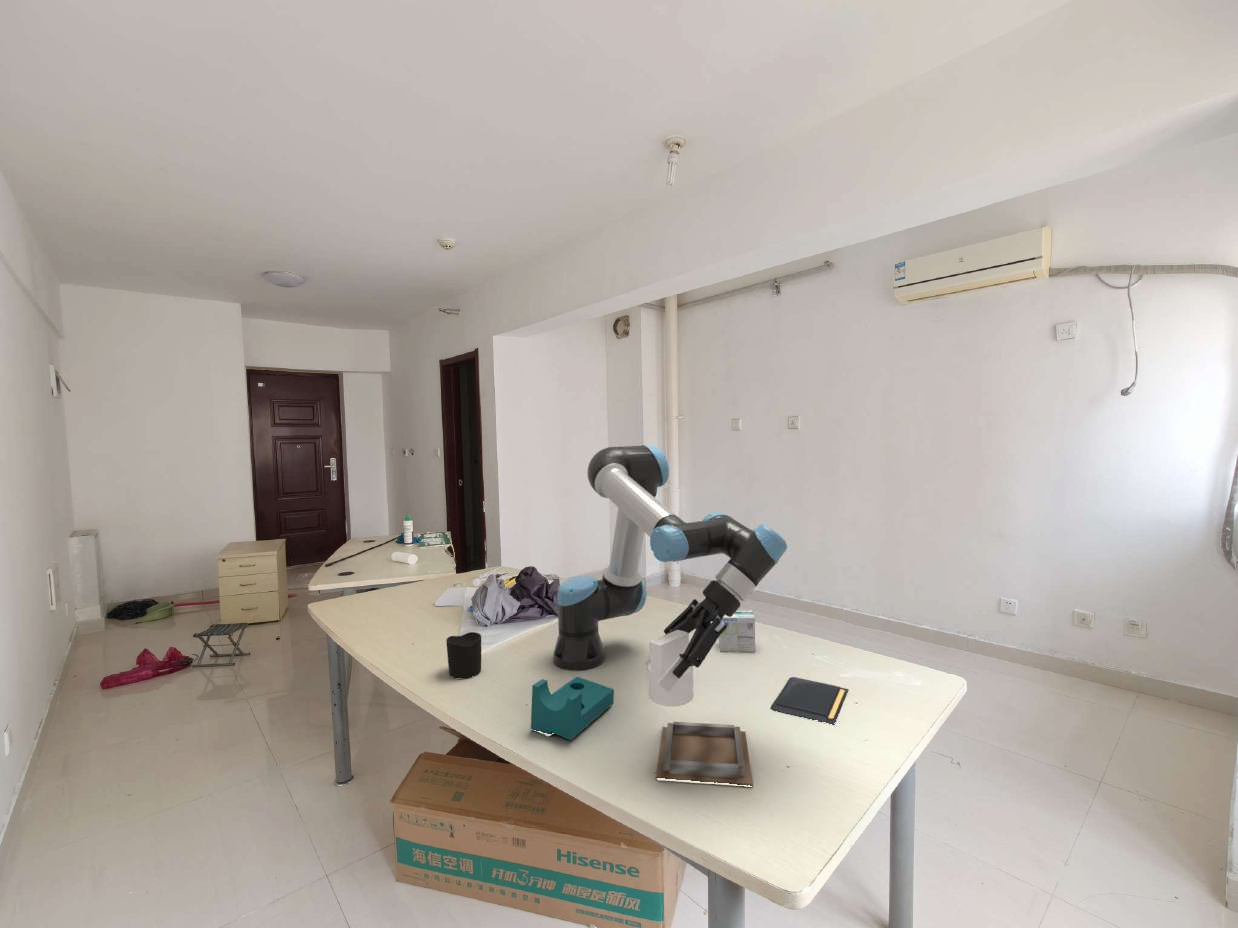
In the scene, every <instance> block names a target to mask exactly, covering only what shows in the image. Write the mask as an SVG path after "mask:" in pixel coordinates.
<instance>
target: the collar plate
mask: <svg viewBox="0 0 1238 928" xmlns="http://www.w3.org/2000/svg"><path fill="white" fill-rule="evenodd" d="M658 751H659V752H658V758H657V765H656V773H655V779H656V778H665V779H676V780H691V781H700V782H714V783H716V782H717V783H729V784H737V785H747V786H748V785H750V786H753V787H754V782H753V776H752V775H753V774H752V768H751V761H750V754H749V746H748V740H747V733H746V731H741V726H735V725H734V724H724V723H723V724H720V723H719V724H717V723H703V722H702V723H701V722H688V721H687V722H686V721H685V722H684V721H673V722H667V725H666V726H662V729H661V736H660V744H659V750H658Z"/></svg>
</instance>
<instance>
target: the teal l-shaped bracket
mask: <svg viewBox="0 0 1238 928" xmlns="http://www.w3.org/2000/svg"><path fill="white" fill-rule="evenodd" d="M548 682H549V681H548V680H547V679H544V678H541V679H540V680H538V681H537V682H535V683H534V684H533V685H532V690H531V691H532V692H531V711H530V712H531V714H530V730H531V729H533V730H536V731H541V732H543V733H547V734H552V733H555V734H556V735H558V736H560V737H563V738H564V739H567V740H570V741H571V740H573V739H574V738H575V737H576V736H577V735H579V733H581V732H582V731H583V730H585V728H586V727H588V726H589V725H591V723H592V722H593V721H595V720H596V719H597V718H599V717H600V716H601V715H602V714H603V713H604V712H606V710H608V709H609V708H610V707H611V706H612V705H613V704H614V697H615V696H614V695H615V689H614V688H611V687H610V686H609V687H608V686H605V685H603V684H600V683H596V682H593V681H591V680H588V679H585V678H583V677H579V676H575V677H574V678H573V679H572V680H570V681H568V682H567V683H566V684H564V685H563V686H561V687H560V688H558V689H557V690H556V691H554V692H553V693H551V691H550V688H549V685H548V684H549V683H548ZM533 730H532V731H533ZM555 734H554V735H555Z"/></svg>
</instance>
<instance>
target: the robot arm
mask: <svg viewBox="0 0 1238 928" xmlns="http://www.w3.org/2000/svg"><path fill="white" fill-rule="evenodd" d="M586 472H587V474H586V475H587V480H588V482H589V484H590V487H591V489H593V491H594V492H595V493H596V494H598V495H599V496H600V497H602V498H605V499H609V501H611V502H612V503H613V504H615V506H616V507H617V513H616V519H615V521H616V522H615V526H614V527H615V528H614V533H613V540H612V546H611V553H610V559H609V565H608V566H607V567H605V568H604V570H603V571H602V572H603V573H602V577H601V579H599V580H597V578H595V576H590V575H589V576H588V575H586V576H576V577H571V578H569V579H567V580H565V581H563V582H562V583H560V585H559V586H558V588H557V599H556V603H557V617H558V618H557V619H558V620H557V621H558V622H557V623H558V636H557V640H556V642H555V646H554V650H553V657H552V658H553V664H555V665H556V666H557V667H559V668H560V669H561V668H562V669H565V670H573V671H574V670H575V671H579V670H580V671H581V670H582V671H583V670H587V669H591V668H592V669H593V668H595V667H596V668H597V667H598V666H600V665H601V664H603V663H604V662H605V660H606V650H605V647H604V643H603V641H602V638H601V636H600V633H599V632H600V631H599V622H600V621H606V620H610V619H614V618H615V619H616V618H620V617H624V616H625V617H628V616H631V615H633V614H636V613H639V612H640V611H641V610H642V609H643V608H644V606H645V603H646V600H647V593H648V592H647V590H646V588H647V586H646V583H645V580H644V578H643V577H642V574H641V573H640V572H639V565H640V559H641V554H642V549H643V548H642V547H643V542H644V536H645V534H646V535H647V536H648V537H649V538H650V539H649V546H650V550H651V551H652V552H653V556H654V558H655V559H656V560H658V561H659V562H662V563H668V562H670V563H671V562H673V563H678V562H680V561H685V560H690V559H691V560H692V559H696V558H701V557H707V556H708V557H709V556H715V555H719V554H724V555H725V556H726V557H728V558H729V560H728V561H726V563H725V564H724V565H723V566H722V568H721V569H720V570H719V571H718V573H716V575H715V579H713V580H711V581H710V582H709V583H708V584H707V585H706V587H705V588H704V589H703V591H702V595H703V596H704V599H703V600H702V601H701V602H699V601H698V600H697V599H696V598H694V599H692V601H691V602H690V603H689V605H688V606H687V607H686V608H685V609H684V610H683V611H682V612H681V613H679V615H678V616H677V617H675V619H673V621H671V622H670V624H668V625H666V626H667V627H666V626H665V628H664V630H663V633H664V635H666V634H669V633H671V632H674V631H676V630H681V631H685V632H687V633H689V634H690V633H692V632H693V631H694V632H693V634H692V637H691V638H690V639H689V644H688V646H687V648H686V650H685V652H684V654H679V657H678V658H677V659H676V660H675V661H674V663H673V664H672V665H671V666H670V667H669V669H668V670H667V671H666V672H665V673H664V674H663V676H662V677H661V678H660V679H659V680H658V682H657V683H658V684H659V685H660V686H661V687H662V688H664V689H665V690H666V691H667V692H669V690H670V689H671V688H672V687H673V686H674V685H675V683H676V682H677V681H678V680H679V679H680V677H681V676H682V675H683V674H684V673H685V672H686V670H687V669H688V668H689V667H690V666H691V667H692V666H693V667H695V668H699V667H700V666H701V665H702V663H703V662H704V661H705V659H706V658H707V655H708V654H709V652H710V651H711V650H712V648H713V646H714V645H715V644H716V642H717V641H718V640H719V636H720V635H721V634H722V633H723V632H724V630H725V629H726V628H727V625H726V624H725V623H724V622H722V618H723V617H724V615H727V616H728V617H731V616H732V615H733V614H734V613H735V612H736V611H738V609H739V608H741V602H745V601H746V600H747V599H748V597H749V596H750V595H752V594H753V591H754V590H755V589H756V587H758V585H759V583H760V582H761V581H762V580H763V579H764V578H765V577H766V576H767V574H768V573H769V572H770V571H771V570H772V569H773V568H774V567H775V566H776V565H777V564H778V563H779V561H780V560H781V557H782V556H783V555H784V553H785V552H786V551H787V549H788V544H787V542H786V540H785V539H784V538H783V537H782V536H781V535H780V534H779V533H778V532H777V531H776V530H775V529H773V528H771V527H770V526H768V525H765V524H759V525H758V526H756V528H754V529H750V528H748V527H747V526H745V525H744V524H742V523H741V522H739V521H737V520H736V519H734V518H733V517H732V516H730V515H728V514H725V513H723V512H721V511H712V512H710V513H709V514H707V515H705V516H704V518H702V520H699V521H693V522H686V521H684V520H683V519H681V518H680V517H679V516H677V515H676V514H675V513H674V512H673V511H672V510H670V509H669V508H668V506H666V505H664V504H663V503H662V502H661V501H659V499H657V498H656V497H657V493H658V488H659V487H663V486H665V484H666V483H667V482H668V480H669V476H670V469H669V462H668V460H667V456H666V455H665V453H664V452H663V450H661V448H659V447H657V446H655V445H645V444H641V445H628V446H627V445H626V446H609V447H605V448H603V449H600V450H598V451H597V452H596V453H595V454H594V455H593V456H592V457H591V459H590V461H589V463H588V467H587V471H586ZM643 663H644V664H645V665H646V666H647V667H648V665H649V664H650V655H649V656H648V657H646V659H645V660H644V661H643Z"/></svg>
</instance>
